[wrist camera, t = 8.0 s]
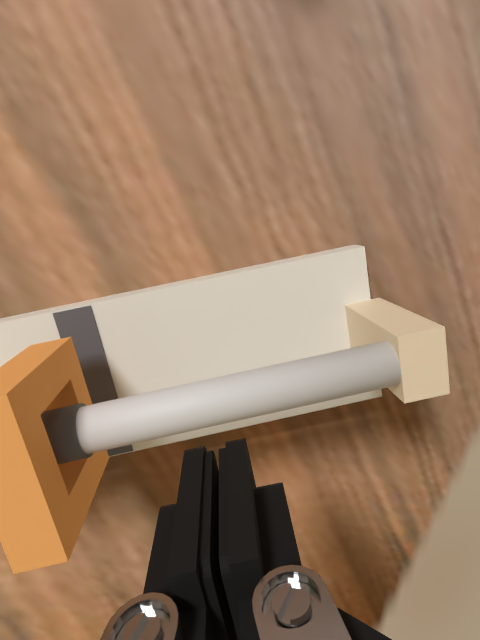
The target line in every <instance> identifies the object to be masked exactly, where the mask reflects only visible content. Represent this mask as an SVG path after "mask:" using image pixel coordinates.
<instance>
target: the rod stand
mask: <svg viewBox="0 0 480 640" xmlns="http://www.w3.org/2000/svg"><path fill="white" fill-rule="evenodd" d="M67 337H71V338H72V341H73V344H74V347H75V350H76V354H77V357H78V360H79V363H80V366H81V369H82V373H83V376H84V379H85V382H86V385H87V389H88V392H89V395H90V398H91V401H92V405H87V406H86V405H85V404H84V403H80V404H75V405H70V406H66V407H61V408H57V409H52V410H47V411H43V413H42V414H41V418H42V421H43V424H44V427H45V429H46V432H47V435H48V438H49V441H50V444H51V447H52V449H53V452H54V455H55V458H56V461H57V464H62V463H67V462H71V461H76V460H80V459H85V458H89V457H91V456H92V455H93V453H95V452H99V451H104V450H107V452H108V455H109V457H111V456H116V455H120V454H125V453H129V452H134V451H138V450H143V449H147V448H152V447H156V446H161V445H165V444H170V443H174V442H179V441H183V440H188V439H192V438H197V437H201V436H206V435H210V434H215V433H219V432H224V431H228V430H233V429H237V428H242V427H246V426H251V425H255V424H260V423H264V422H269V421H273V420H278V419H282V418H287V417H291V416H296V415H300V414H305V413H309V412H314V411H318V410H323V409H327V408H332V407H336V406H341V405H345V404H350V403H354V402H359V401H363V400H368V399H372V398H377V397H381V396H382V390H381V389H384V388H388V389H389V390H390V391H391V392H392V393H394V394H395V395H396V396H397V397H398V398H399V399H400V400H401V401H402V402H403V403H404V404H405V403H409V402H414V401H418V400H423V399H427V398H432V397H436V396H441V395H445V394H450V390H449V376H448V363H447V349H446V336H445V327H444V326H442V325H439V324H437V323H435V322H433V321H431V320H428V319H426V318H424V317H422V316H419V315H417V314H415V313H413V312H410V311H408V310H406V309H404V308H401V307H399V306H397V305H395V304H392V303H390V302H388V301H386V300H384V299H381V298H375V299H371V298H370V290H369V281H368V273H367V264H366V256H365V248H364V246H360V245H350V246H345V247H340V248H336V249H331V250H326V251H321V252H316V253H312V254H307V255H302V256H297V257H293V258H288V259H283V260H278V261H273V262H269V263H264V264H259V265H254V266H249V267H245V268H240V269H235V270H230V271H225V272H221V273H216V274H211V275H206V276H201V277H197V278H192V279H187V280H182V281H178V282H173V283H168V284H163V285H158V286H154V287H149V288H144V289H139V290H134V291H130V292H125V293H120V294H115V295H110V296H106V297H101V298H96V299H91V300H86V301H82V302H77V303H72V304H67V305H63V306H58V307H53V308H48V309H43V310H39V311H34V312H29V313H24V314H19V315H15V316H10V317H5V318H0V367H1V366H2V365H4V364H5V363H6V362H8V361H9V360H11V359H12V358H13V357H15V356H16V355H18V354H19V353H20V352H22V351H23V350H24V349H26V348H27V347H29V346H30V345H34V344H39V343H43V342H48V341H53V340H58V339H62V338H67Z"/></svg>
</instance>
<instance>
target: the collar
mask: <svg viewBox="0 0 480 640" xmlns="http://www.w3.org/2000/svg"><path fill="white" fill-rule="evenodd" d="M80 403H84V404H85V405H86V406H87V405H92V401H91V398H90V395H89V392H88V389H87V385H86V382H85V379H84V376H83V373H82V369H81V366H80V363H79V360H78V357H77V354H76V350H75V347H74V344H73V341H72V338H71V337H67V338H62V339H58V340H53V341H48V342H43V343H39V344H34V345H30V346H29V347H27V348H26V349H24V350H23V351H22V352H20V353H19V354H18V355H16V356H15V357H13V358H12V359H11V360H9V361H8V362H6V363H5V364H4V365H2V366H1V367H0V541H1V544H2V546H3V549H4V551H5V554H6V556H7V558H8V561H9V563H10V566H11V568H12V570H13V573H14V574H15V573H20V572H24V571H28V570H33V569H37V568H41V567H46V566H50V565H54V564H59V563H63V562H67V561H68V560H69V558H70V555H71V553H72V550H73V548H74V545H75V543H76V540H77V538H78V535H79V533H80V530H81V528H82V525H83V523H84V520H85V518H86V515H87V513H88V510H89V508H90V505H91V503H92V500H93V498H94V495H95V492H96V490H97V487H98V485H99V482H100V480H101V477H102V475H103V472H104V470H105V467H106V465H107V462H108V460H109V455H108V452H107V450H104V451H99V452H95V453H93V455H92V456H91V457H89V458H85V459H80V460H76V461H71V462H67V463H62V464H57V461H56V458H55V455H54V452H53V449H52V447H51V444H50V441H49V438H48V435H47V432H46V429H45V427H44V424H43V421H42V418H41V414H42V413H43V411H47V410H52V409H57V408H61V407H66V406H70V405H75V404H80Z"/></svg>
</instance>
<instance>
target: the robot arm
mask: <svg viewBox="0 0 480 640" xmlns="http://www.w3.org/2000/svg"><path fill="white" fill-rule="evenodd" d="M100 640H392V639H390V638H388V637H386V636H385V635H383V634H381V633H380V632H378V631H376V630H375V629H373V628H371V627H369V626H368V625H366V624H364V623H363V622H361V621H359V620H358V619H356V618H354V617H352V616H351V615H349V614H347V613H346V612H344V611H342V610H341V609H339V608H337V607H336V605H335V603H334V601H333V598H332V596H331V594H330V592H329V590H328V588H327V586H326V584H325V583H324V581H323V580H322V578H321V577H320V576H319V575H318V574H317V573H315V572H314V571H313V570H311V569H309V568H306V567H303V566H302V565H301V561H300V557H299V552H298V548H297V544H296V539H295V535H294V531H293V526H292V522H291V518H290V513H289V509H288V505H287V500H286V496H285V492H284V487H283V483H277V484H272V485H267V486H262V487H257V488H256V485H255V480H254V475H253V471H252V466H251V462H250V457H249V452H248V448H247V443H246V439H245V438H244V439H239V440H234V441H229V442H226V448H222V449H219V470H218V466H217V462H216V458H215V454H214V451H213V450H212V451H206V448H205V446H204V447H199V448H194V449H189V450H185V451H184V457H183V464H182V471H181V478H180V485H179V492H178V499H177V504H172V505H167V506H162V507H161V508H160V511H159V515H158V520H157V525H156V531H155V536H154V541H153V546H152V551H151V556H150V561H149V566H148V572H147V577H146V582H145V587H144V592H143V594H141V595H139V596H137V597H135V598H133V599H131V600H129V601H128V602H127V603H125V604H124V605H123V606H121V607H120V608H119V609H118V610H117V611H116V613H115V614H114V615H113V616H112V617H111V619H110V620H109V622H108V624H107V626H106V628H105V629H104V632H103V634H102V637H101V639H100Z"/></svg>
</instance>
